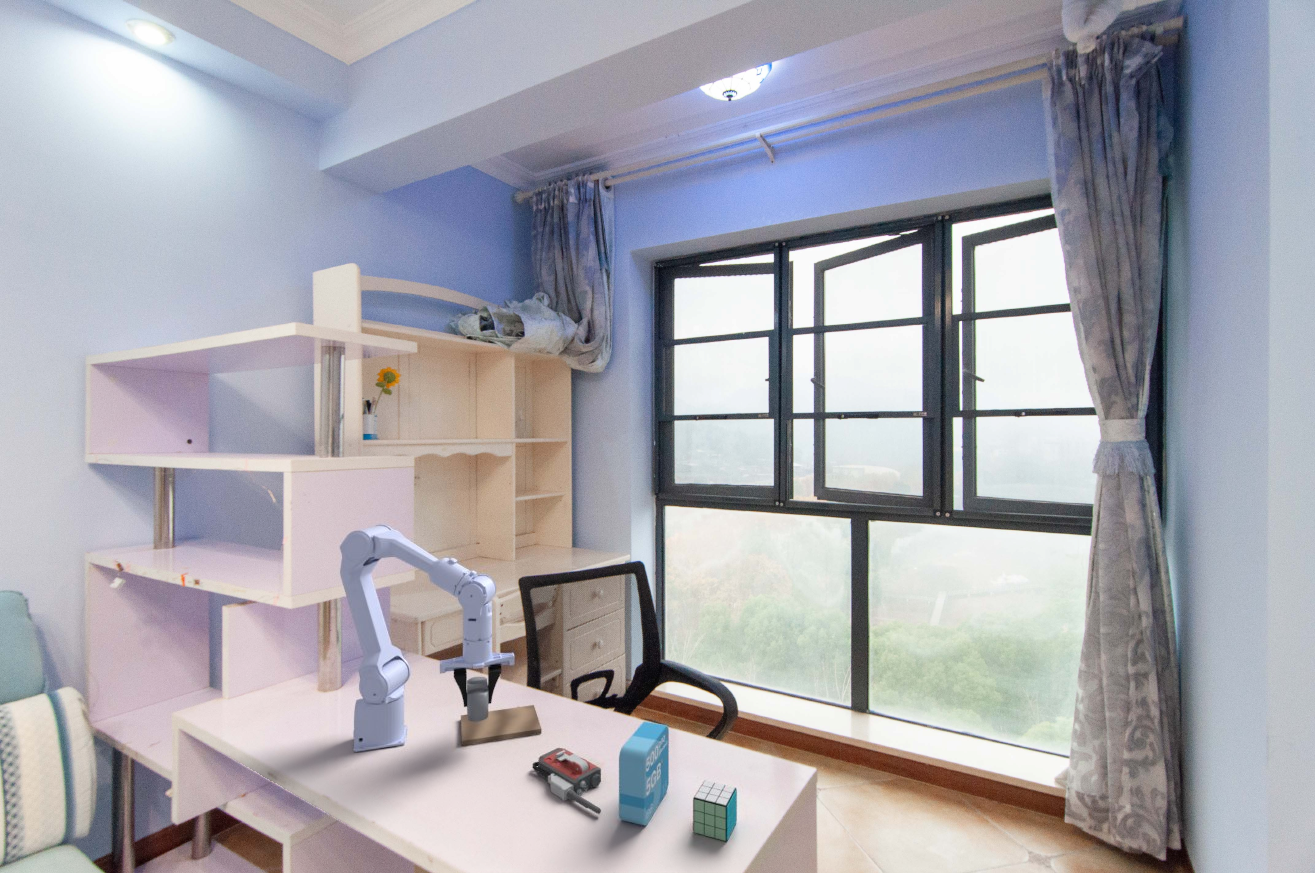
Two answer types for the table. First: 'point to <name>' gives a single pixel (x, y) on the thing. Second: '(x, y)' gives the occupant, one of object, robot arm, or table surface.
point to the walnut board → (501, 725)
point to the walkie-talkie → (569, 775)
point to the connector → (477, 699)
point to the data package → (643, 772)
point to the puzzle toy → (715, 810)
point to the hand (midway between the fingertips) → (477, 703)
